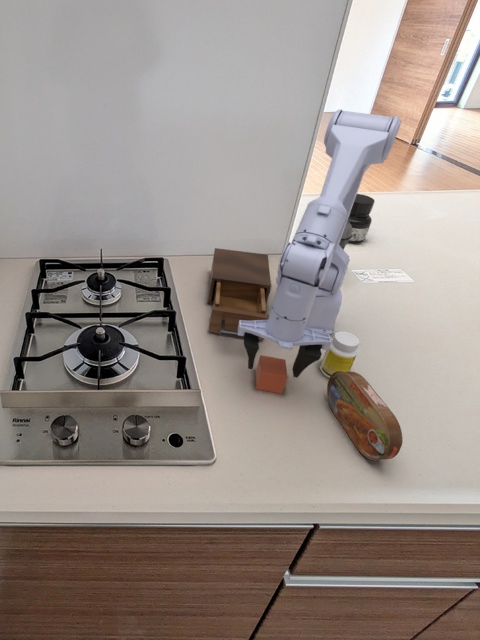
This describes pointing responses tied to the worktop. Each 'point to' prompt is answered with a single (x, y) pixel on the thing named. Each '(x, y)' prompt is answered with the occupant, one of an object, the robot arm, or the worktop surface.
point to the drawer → (236, 307)
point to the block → (271, 374)
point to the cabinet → (239, 270)
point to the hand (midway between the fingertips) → (272, 369)
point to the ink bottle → (360, 218)
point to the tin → (364, 416)
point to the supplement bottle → (340, 354)
